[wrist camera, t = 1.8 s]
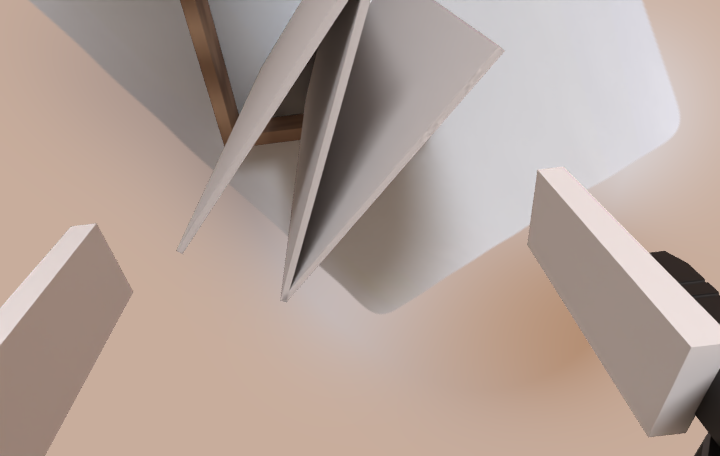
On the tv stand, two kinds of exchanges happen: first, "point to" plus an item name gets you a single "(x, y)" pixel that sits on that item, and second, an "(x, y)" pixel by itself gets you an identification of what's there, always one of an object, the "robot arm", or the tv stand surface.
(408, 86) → the brochure
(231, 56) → the tv stand surface
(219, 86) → the rack
